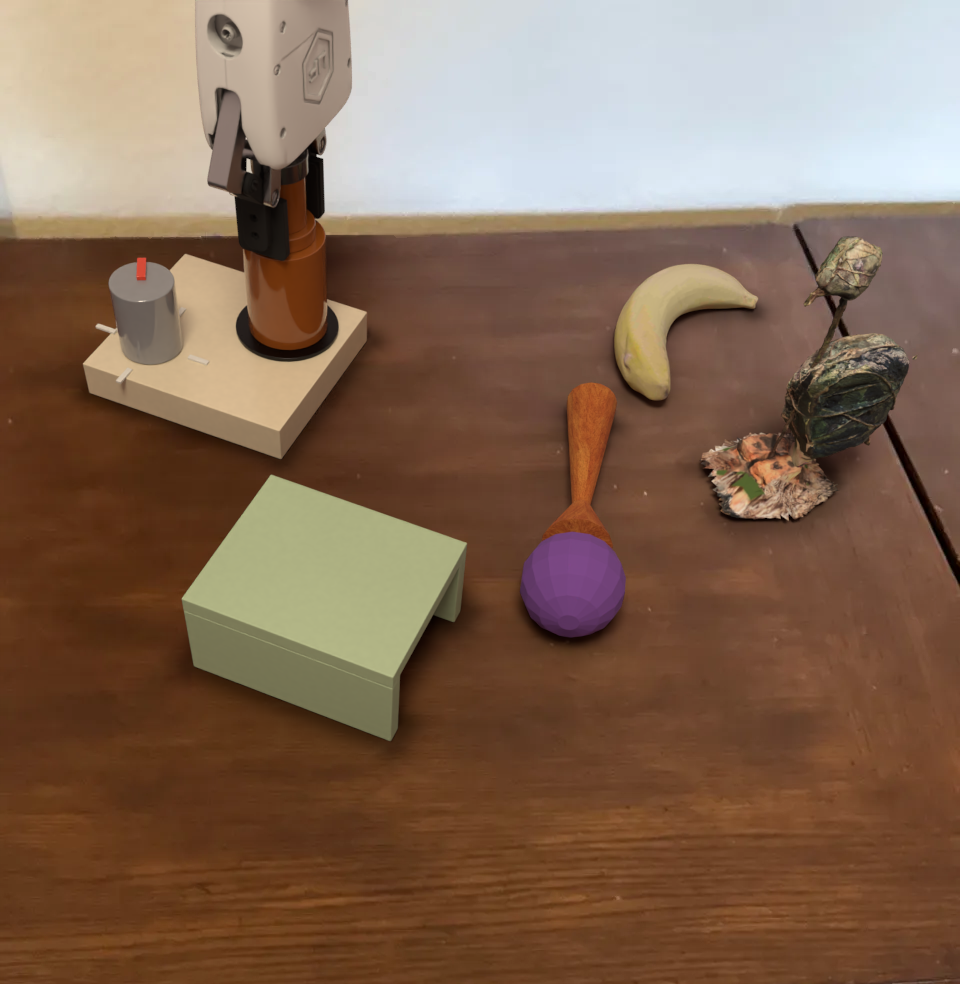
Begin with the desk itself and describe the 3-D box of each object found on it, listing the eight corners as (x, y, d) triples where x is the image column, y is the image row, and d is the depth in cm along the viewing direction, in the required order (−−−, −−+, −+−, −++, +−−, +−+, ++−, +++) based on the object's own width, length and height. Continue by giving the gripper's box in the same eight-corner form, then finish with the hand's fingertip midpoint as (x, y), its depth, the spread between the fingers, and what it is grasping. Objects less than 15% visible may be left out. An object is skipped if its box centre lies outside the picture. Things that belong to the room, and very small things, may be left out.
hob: (69, 393, 82) (61, 361, 80) (175, 278, 90) (170, 246, 88) (277, 465, 79) (274, 435, 77) (367, 340, 87) (367, 309, 85)
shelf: (193, 666, 70) (180, 598, 65) (276, 544, 75) (270, 473, 71) (390, 742, 68) (393, 677, 63) (460, 610, 73) (467, 542, 69)
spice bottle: (234, 335, 82) (217, 160, 72) (271, 291, 85) (260, 117, 75) (306, 359, 82) (298, 185, 71) (340, 314, 85) (338, 141, 74)
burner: (217, 342, 82) (216, 339, 82) (265, 285, 86) (265, 281, 86) (310, 374, 81) (310, 370, 81) (355, 314, 85) (355, 310, 85)
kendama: (650, 381, 81) (638, 602, 68) (618, 449, 85) (601, 669, 72) (563, 354, 80) (533, 571, 67) (535, 424, 85) (502, 641, 71)
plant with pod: (881, 527, 80) (1010, 264, 64) (708, 526, 79) (796, 258, 63) (850, 438, 85) (963, 173, 69) (687, 436, 84) (763, 166, 68)
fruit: (570, 371, 87) (577, 333, 84) (675, 268, 95) (684, 230, 92) (659, 417, 85) (669, 380, 82) (758, 307, 93) (770, 270, 90)
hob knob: (183, 364, 81) (173, 296, 77) (119, 366, 80) (105, 298, 76) (183, 324, 83) (174, 256, 79) (121, 325, 83) (108, 257, 78)
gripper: (252, 8, 58) (274, 327, 72) (399, -126, 68) (393, 179, 82) (109, -32, 59) (159, 289, 74) (274, -157, 69) (289, 148, 83)
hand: (282, 228), depth 78 cm, fingers closed on spice bottle, 4 cm apart
